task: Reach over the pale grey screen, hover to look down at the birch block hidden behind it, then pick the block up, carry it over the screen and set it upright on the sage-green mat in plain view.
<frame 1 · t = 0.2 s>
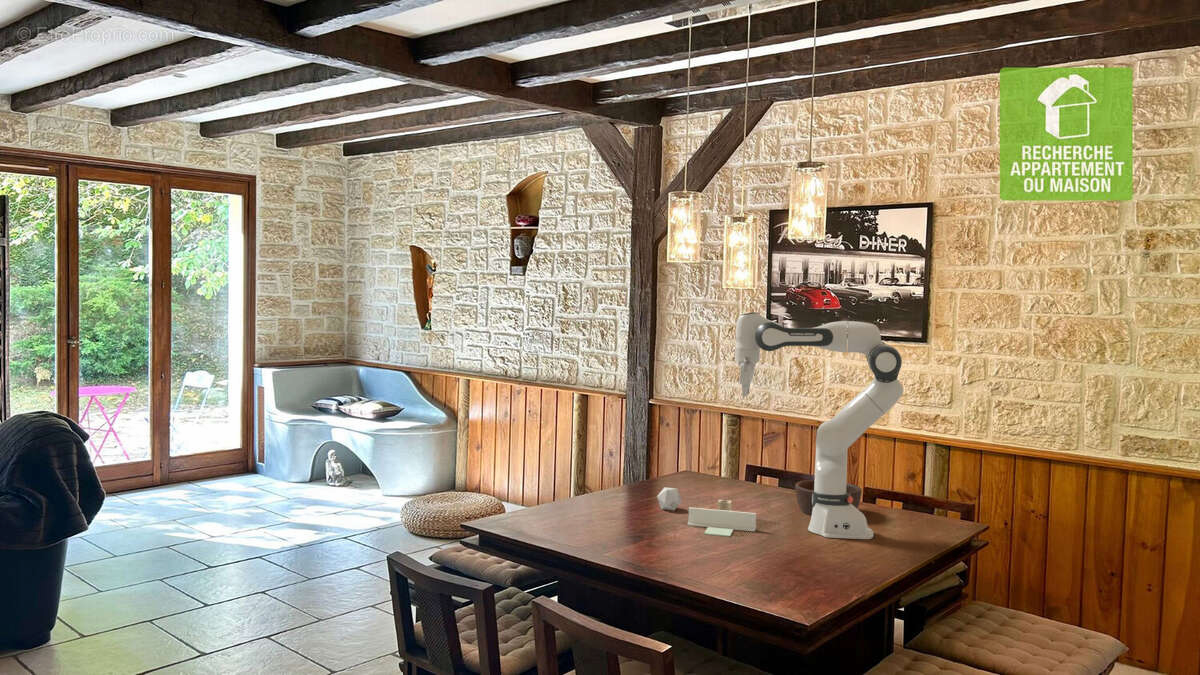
hand: (745, 395, 328), 47 cm above the table, tool pointing down, fingers open, 8 cm apart
die: (669, 509, 349), on the table
wooden bowl: (827, 513, 351), on the table
birch block: (724, 522, 330), on the table
grey screen: (721, 527, 324), on the table
sage mat: (718, 532, 317), on the table
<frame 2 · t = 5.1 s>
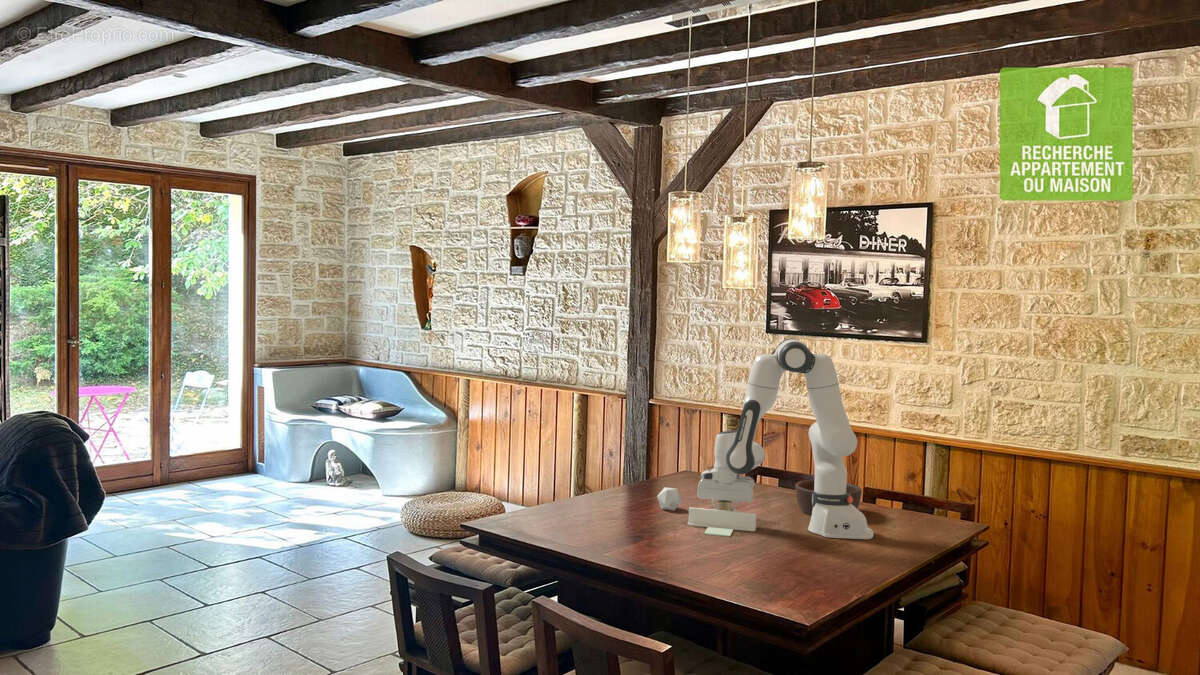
hand: (724, 512, 330), 4 cm above the table, tool pointing down, fingers closed on birch block, 4 cm apart
birch block: (724, 522, 330), on the table, touching gripper
everything else where it was.
when the fingers open (6 cm above the table, at t = 11.3 s): birch block drops 2 cm, resting on sage mat.
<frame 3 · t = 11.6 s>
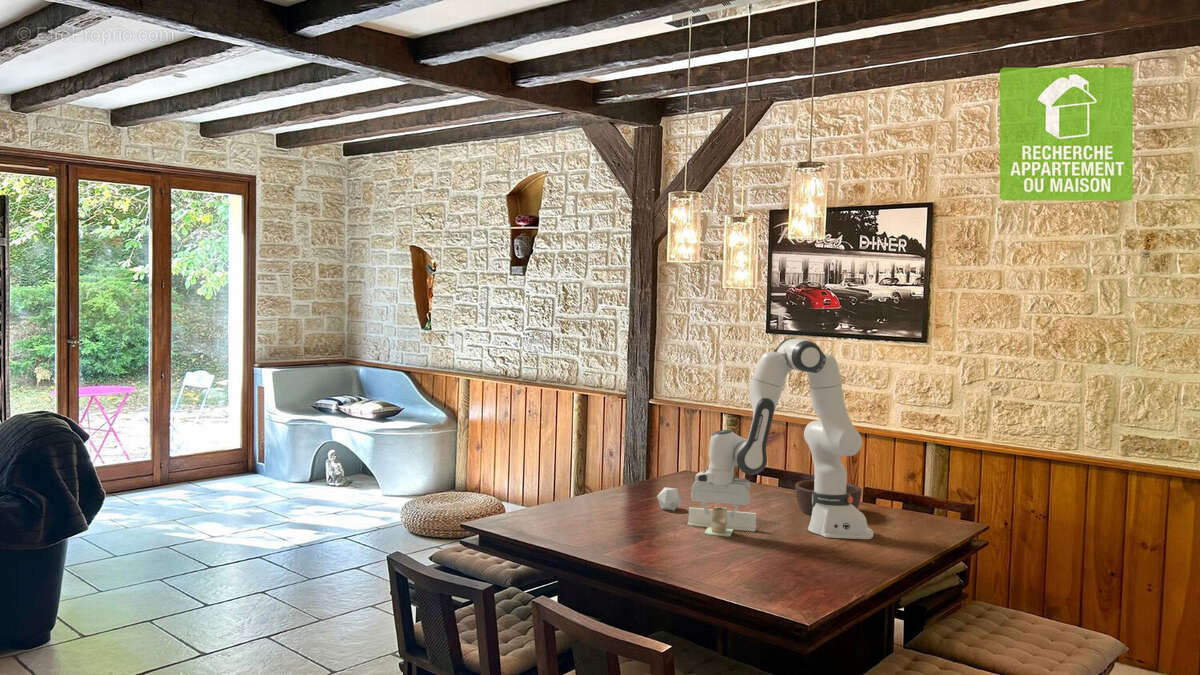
hand: (719, 515, 317), 6 cm above the table, tool pointing down, fingers open, 8 cm apart
birch block: (719, 531, 317), resting on sage mat
everything else where it was.
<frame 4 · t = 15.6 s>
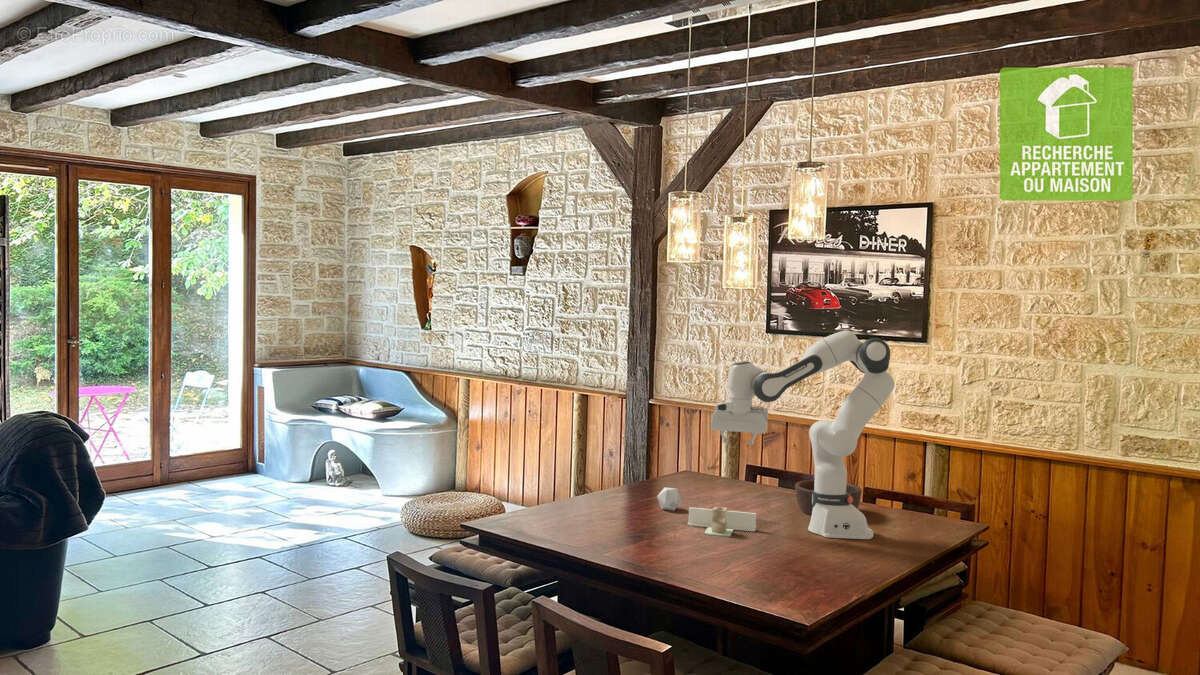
hand: (738, 443, 329), 29 cm above the table, tool pointing down, fingers open, 8 cm apart
nothing on the table moved.
at the end: birch block 0.1 cm off-centre on the sage mat, point 0.4 cm above the sage mat's base; birch block tilted 0°; the gripper is holding nothing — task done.
